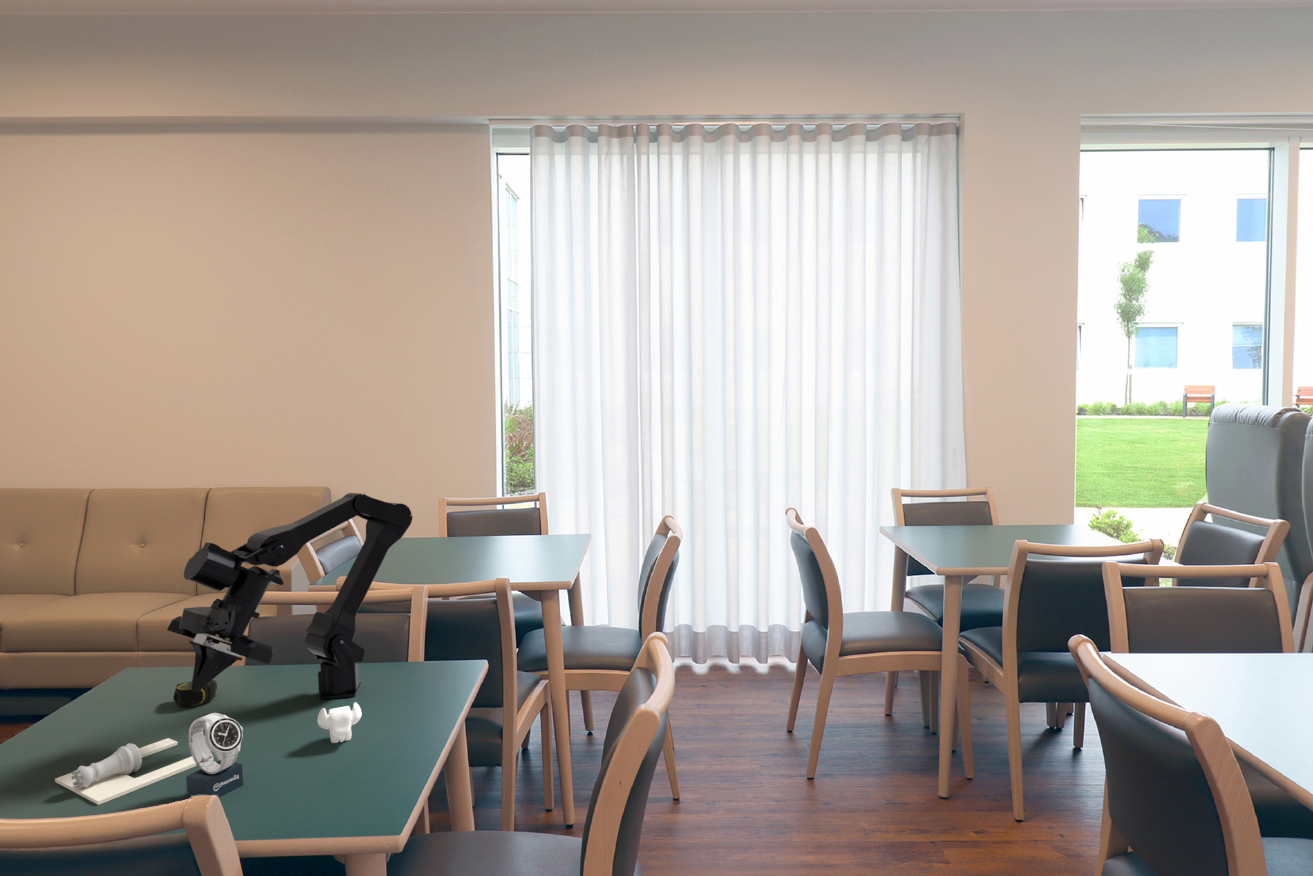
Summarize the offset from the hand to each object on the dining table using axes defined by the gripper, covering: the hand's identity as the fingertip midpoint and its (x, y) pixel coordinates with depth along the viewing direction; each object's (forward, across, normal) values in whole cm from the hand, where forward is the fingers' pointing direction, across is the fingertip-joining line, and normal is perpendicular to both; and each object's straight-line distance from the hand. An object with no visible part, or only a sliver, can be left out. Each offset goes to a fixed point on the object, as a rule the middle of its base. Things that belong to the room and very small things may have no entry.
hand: (194, 690), depth 129 cm
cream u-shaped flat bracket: (+13, +2, -5) cm, 14 cm away
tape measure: (+4, -16, +17) cm, 24 cm away
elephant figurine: (0, +24, +9) cm, 26 cm away
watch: (+11, +20, -7) cm, 24 cm away
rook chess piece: (+11, +2, -6) cm, 12 cm away
